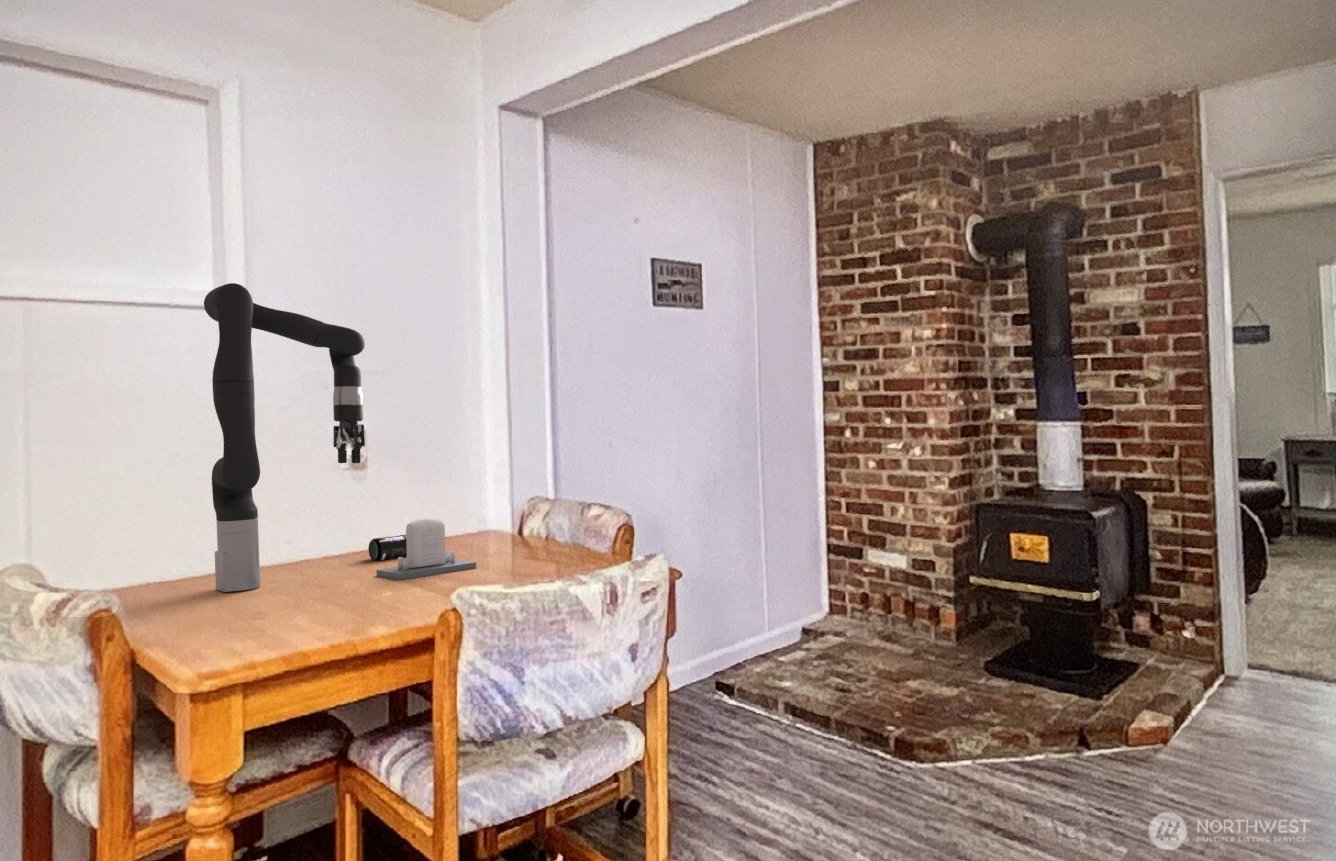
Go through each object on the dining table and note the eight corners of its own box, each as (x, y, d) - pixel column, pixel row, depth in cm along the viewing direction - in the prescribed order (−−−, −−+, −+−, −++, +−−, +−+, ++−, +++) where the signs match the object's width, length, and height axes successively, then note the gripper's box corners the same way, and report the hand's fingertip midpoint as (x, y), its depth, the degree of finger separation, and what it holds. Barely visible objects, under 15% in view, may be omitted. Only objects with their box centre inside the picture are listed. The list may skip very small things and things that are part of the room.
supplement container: (365, 548, 252) (398, 544, 259) (373, 566, 248) (406, 562, 256) (372, 533, 248) (406, 529, 256) (380, 551, 245) (414, 547, 252)
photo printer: (440, 562, 231) (438, 516, 231) (448, 564, 228) (446, 517, 228) (404, 568, 224) (402, 520, 224) (412, 569, 221) (410, 520, 221)
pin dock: (476, 567, 230) (475, 550, 230) (400, 580, 214) (399, 561, 214) (451, 564, 238) (451, 548, 238) (376, 575, 222) (375, 558, 222)
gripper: (323, 404, 239) (324, 463, 239) (346, 402, 229) (347, 463, 229) (349, 405, 244) (351, 462, 244) (373, 402, 234) (374, 462, 234)
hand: (349, 463), depth 237 cm, fingers open, 8 cm apart
